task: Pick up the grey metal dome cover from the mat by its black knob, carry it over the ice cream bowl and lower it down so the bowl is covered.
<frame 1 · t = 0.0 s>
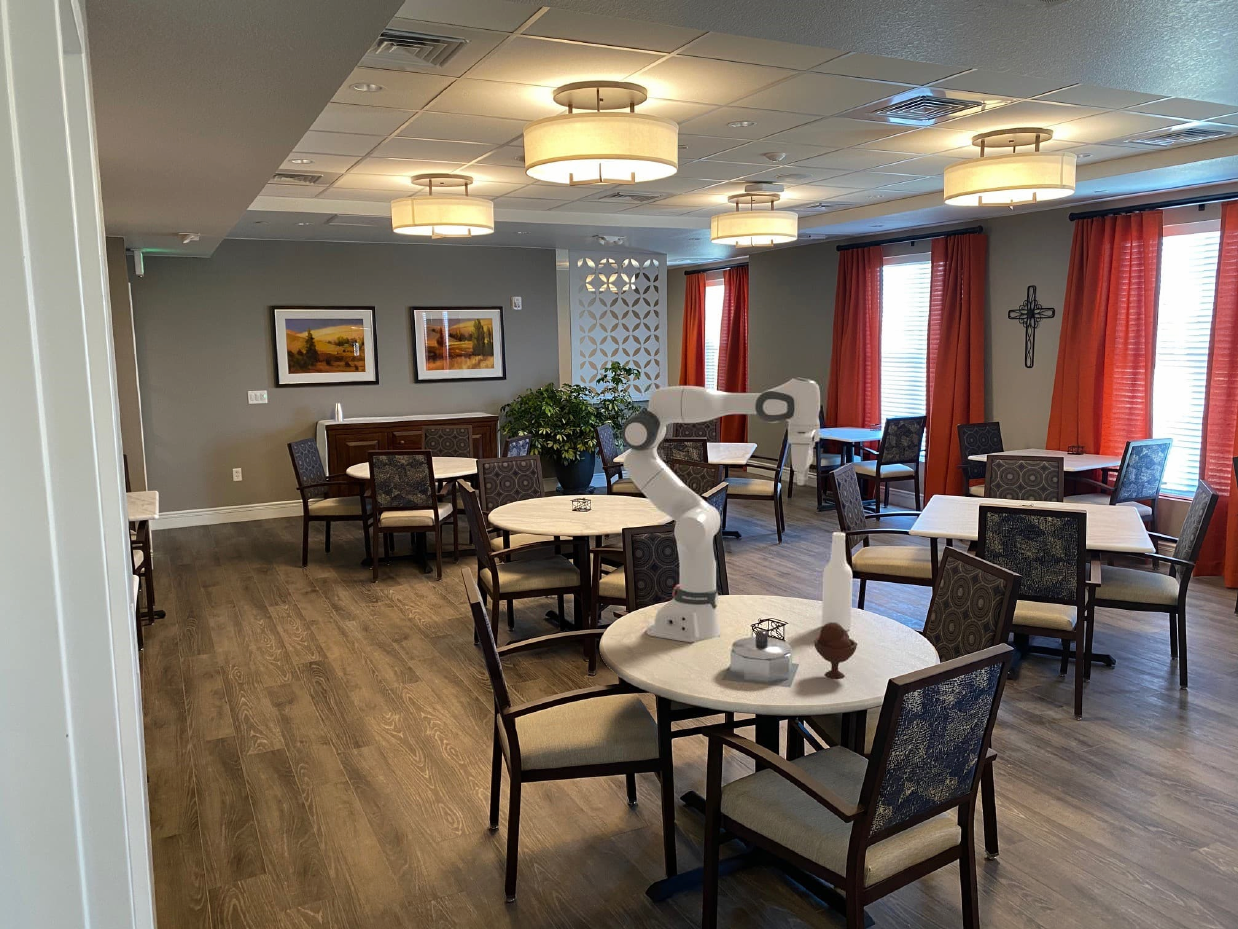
hand: (802, 482, 261), 48 cm above the table, tool pointing down, fingers open, 8 cm apart
mat: (761, 673, 243), on the table
cover: (761, 671, 243), resting on mat
ice cream bowl: (834, 677, 240), on the table
alcohol: (836, 628, 282), on the table
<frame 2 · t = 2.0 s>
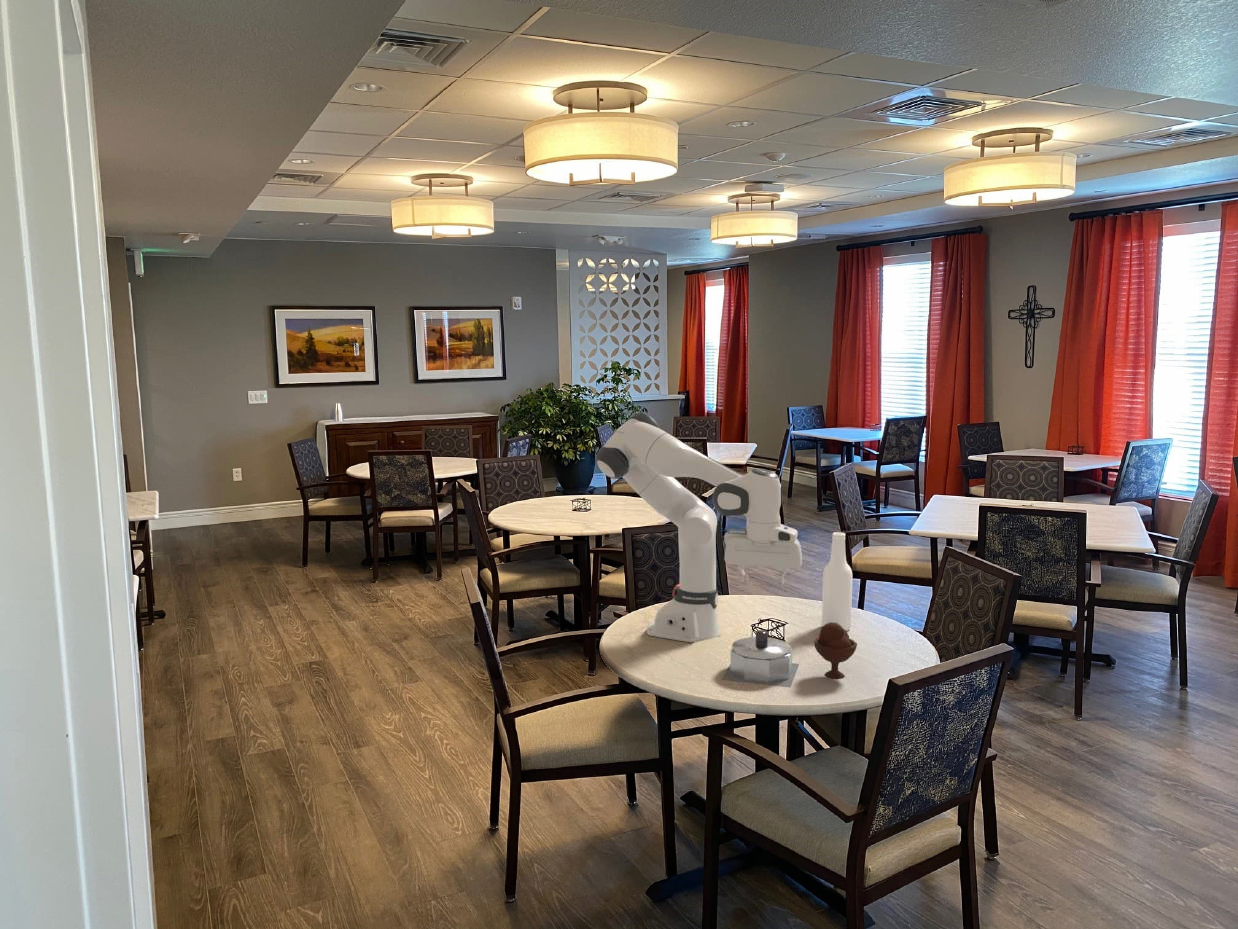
hand: (762, 582, 240), 25 cm above the table, tool pointing down, fingers open, 8 cm apart
nothing on the table moved.
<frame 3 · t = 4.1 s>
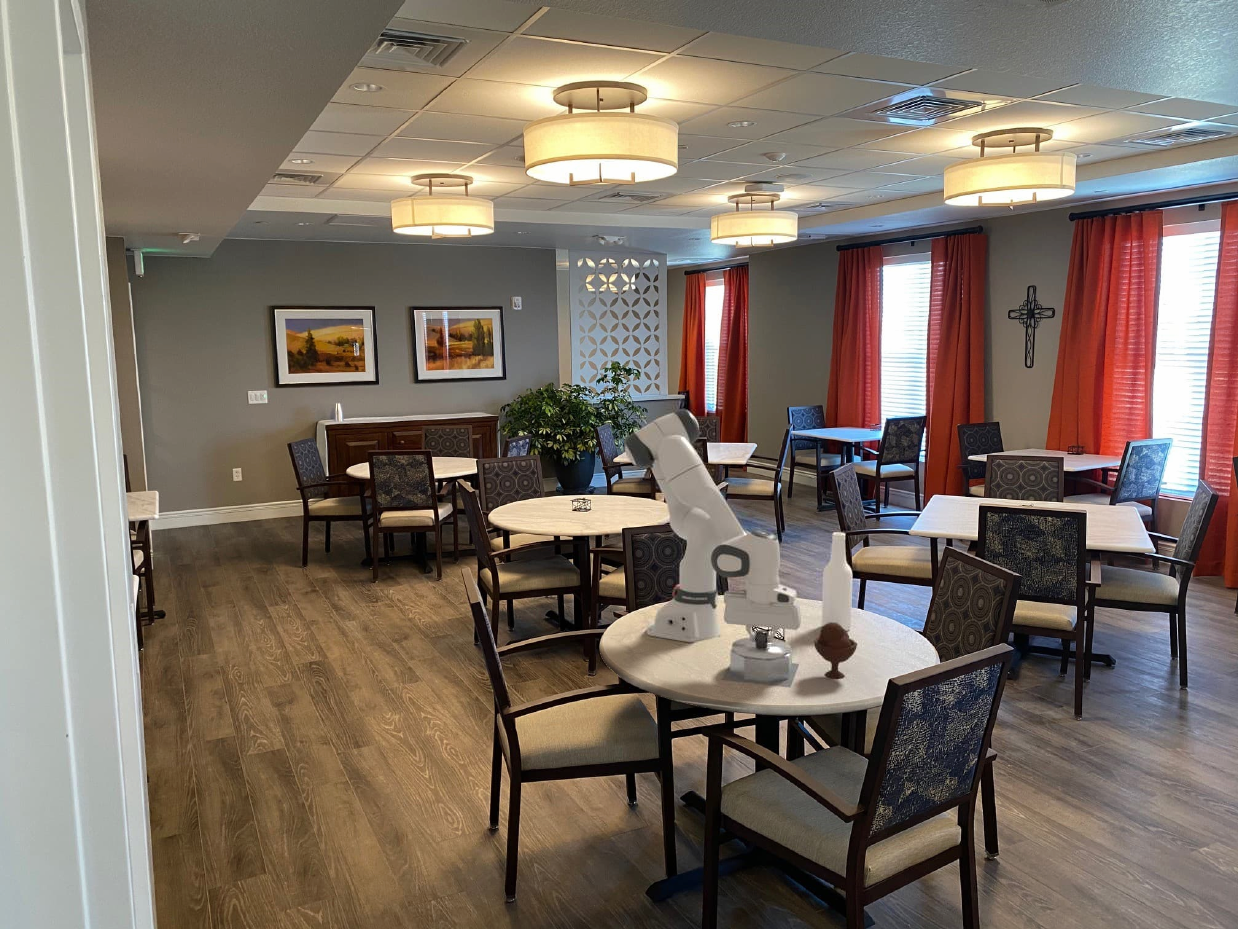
hand: (761, 642, 242), 9 cm above the table, tool pointing down, fingers closed on cover, 3 cm apart
cover: (761, 671, 243), resting on mat, touching gripper
everything else where it was.
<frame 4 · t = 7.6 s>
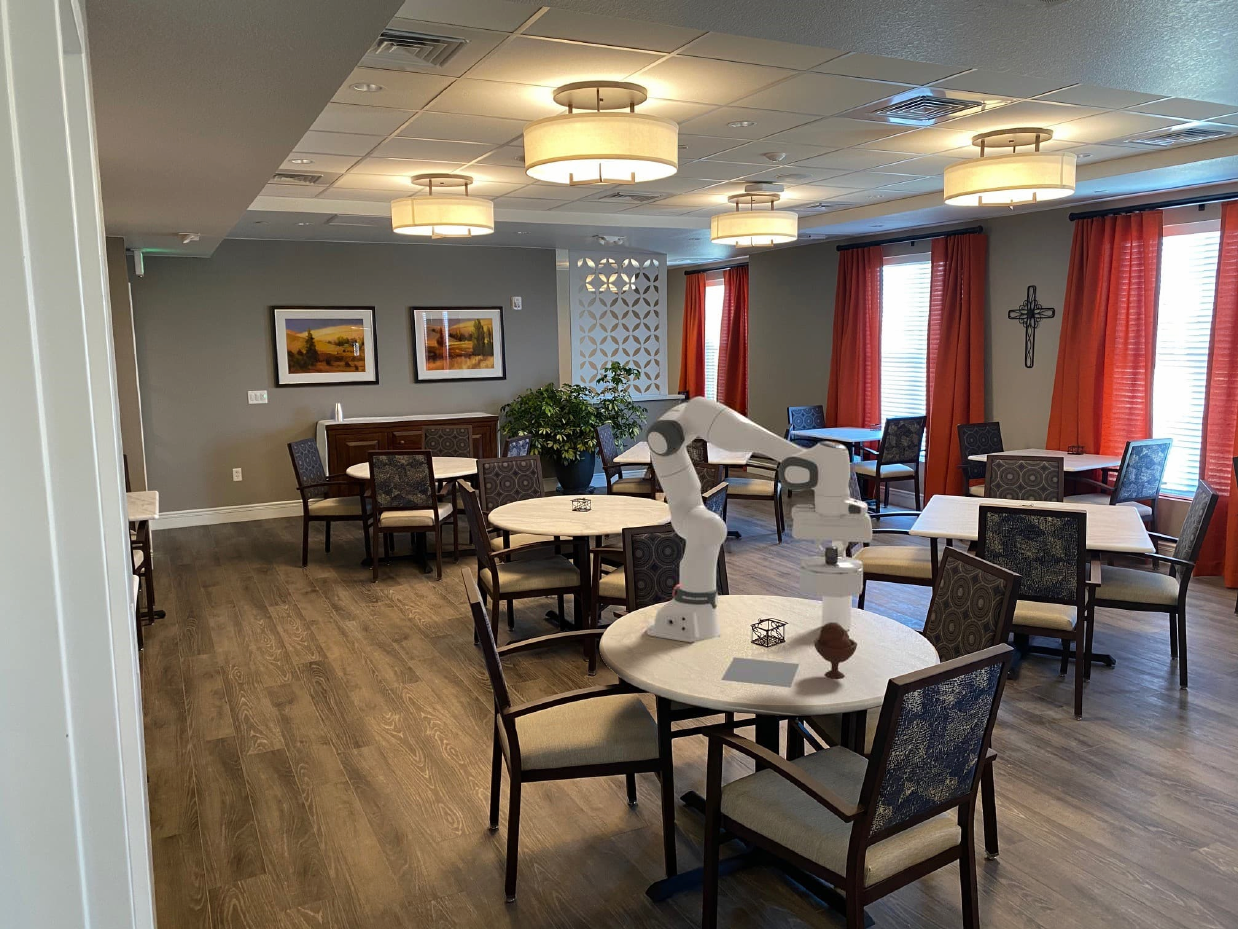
hand: (831, 557, 236), 33 cm above the table, tool pointing down, fingers closed on cover, 3 cm apart
cover: (831, 588, 237), point 24 cm above the table, touching gripper
everything else where it was.
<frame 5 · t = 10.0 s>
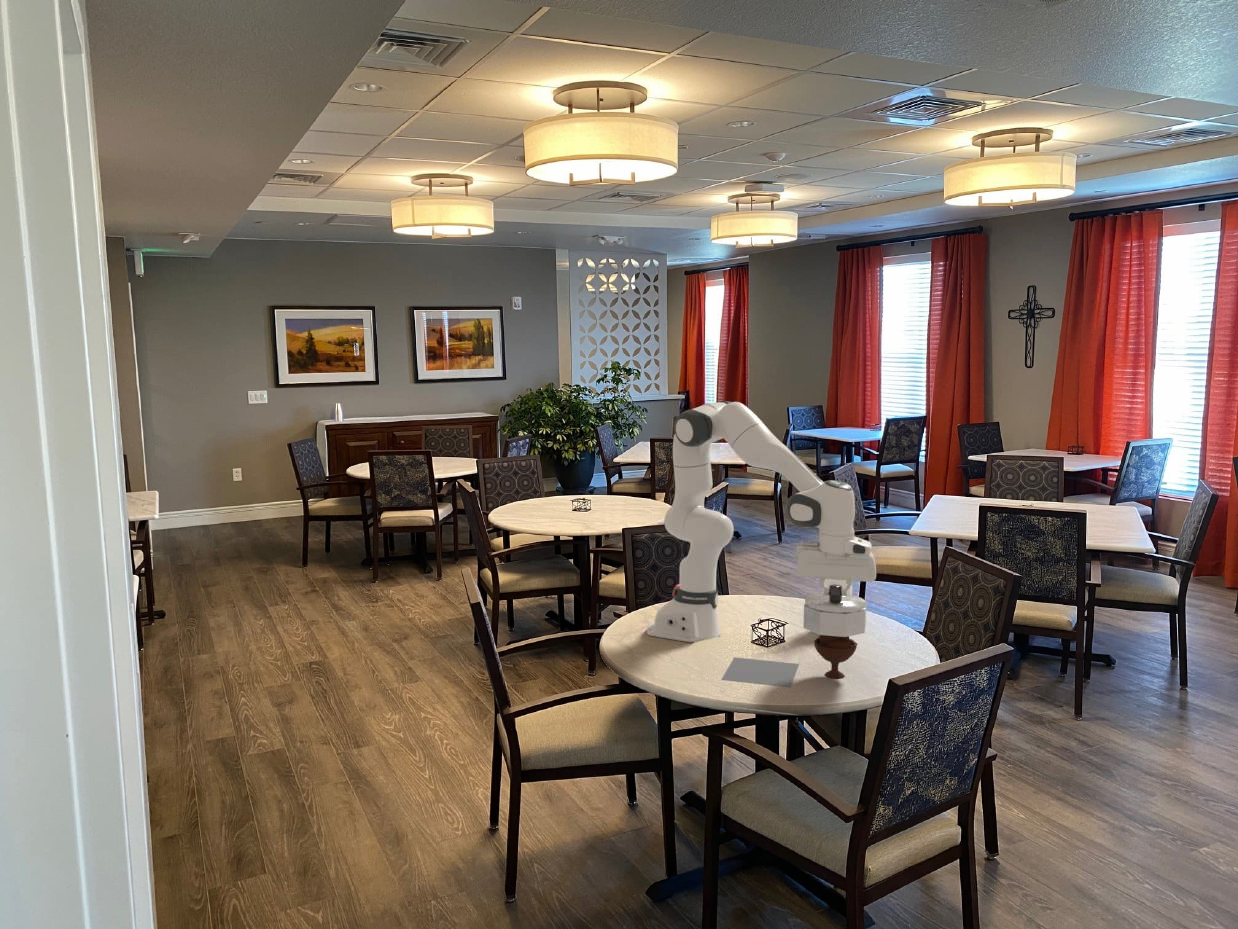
hand: (835, 595, 237), 22 cm above the table, tool pointing down, fingers closed on cover, 3 cm apart
cover: (834, 626, 238), point 14 cm above the table, touching gripper
everything else where it was.
when the fingers open (19 cm above the table, at t = 11.3 s): cover drops 1 cm, resting on ice cream bowl.
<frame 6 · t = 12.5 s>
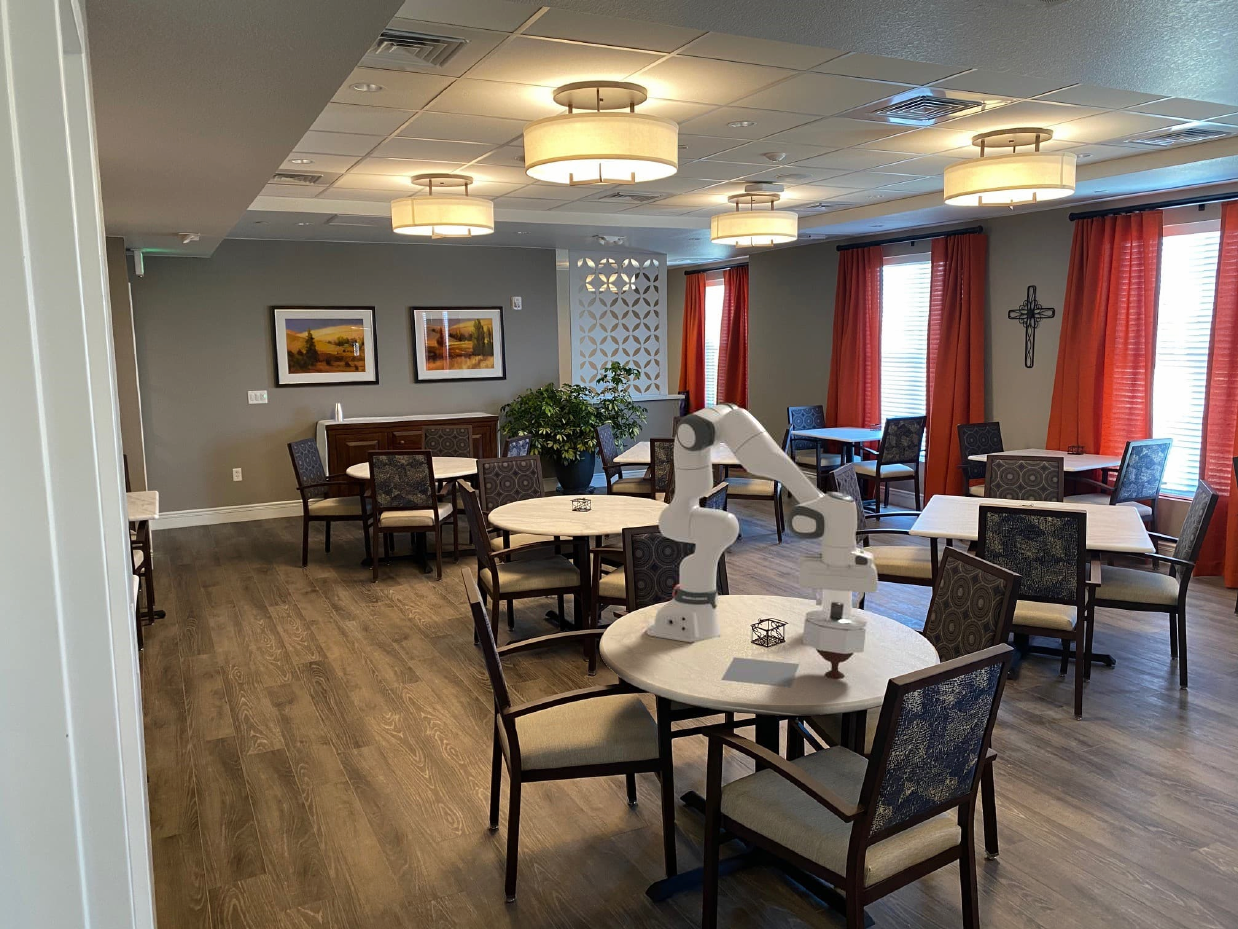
hand: (837, 606, 238), 19 cm above the table, tool pointing down, fingers open, 8 cm apart
cover: (833, 644, 239), point 9 cm above the table, tilted 5°, touching ice cream bowl
ice cream bowl: (834, 677, 240), on the table, touching cover
everything else where it was.
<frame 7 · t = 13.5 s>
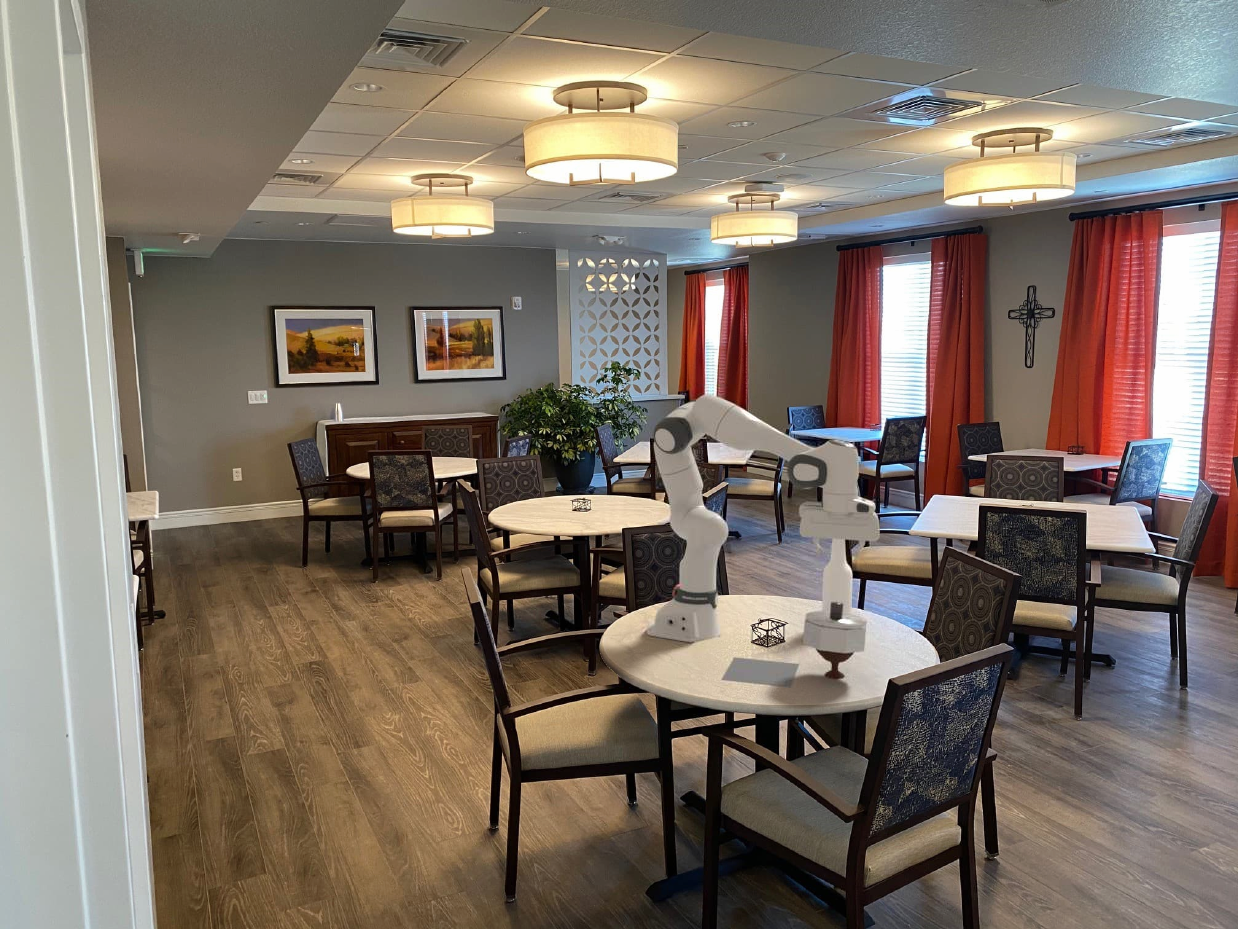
hand: (838, 555, 236), 33 cm above the table, tool pointing down, fingers open, 8 cm apart
nothing on the table moved.
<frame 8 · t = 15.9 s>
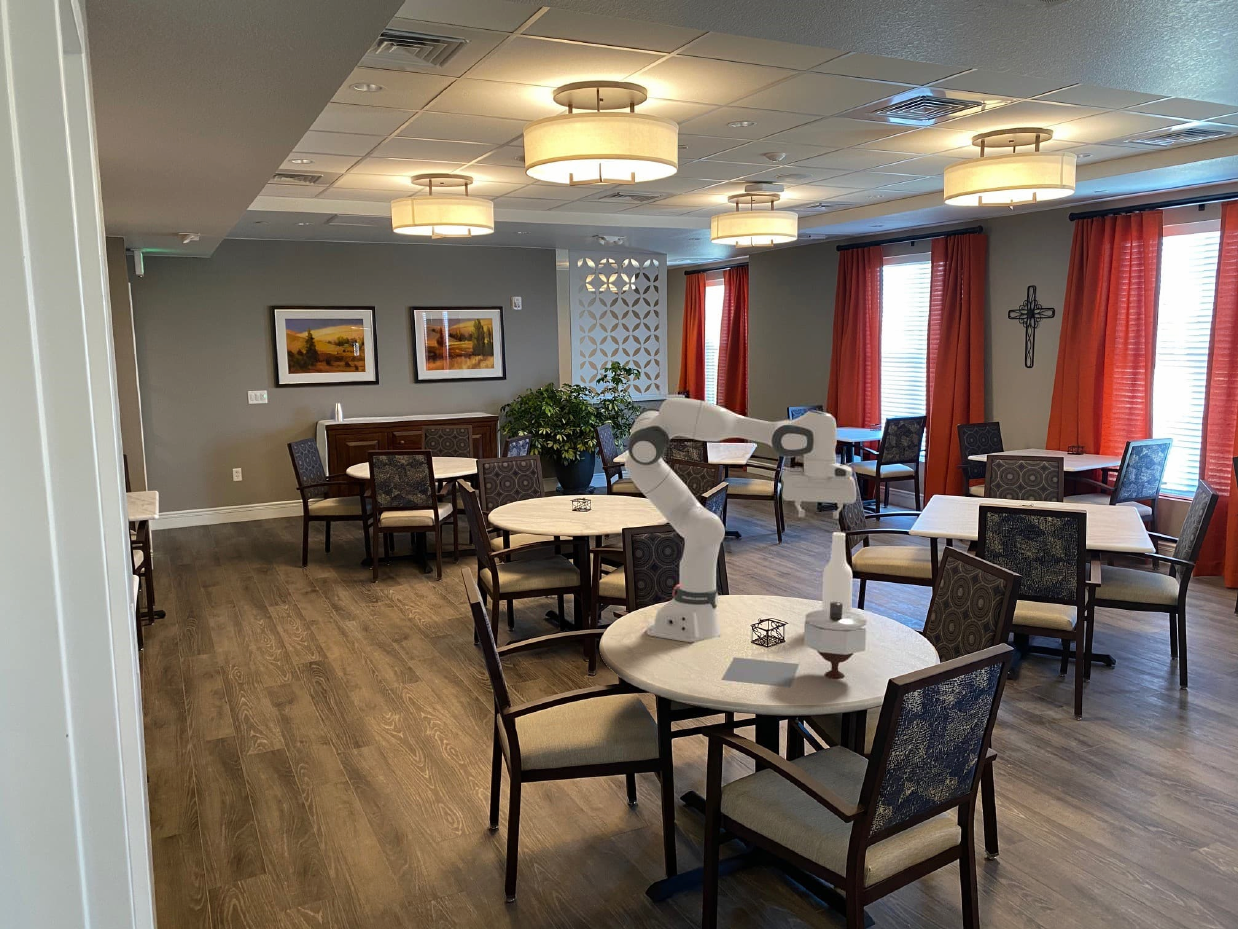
hand: (818, 517, 255), 39 cm above the table, tool pointing down, fingers open, 8 cm apart
nothing on the table moved.
at the end: cover 0.2 cm from the ice cream bowl (horizontally); cover point 9.0 cm above the table; ice cream bowl tilted 0° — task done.
